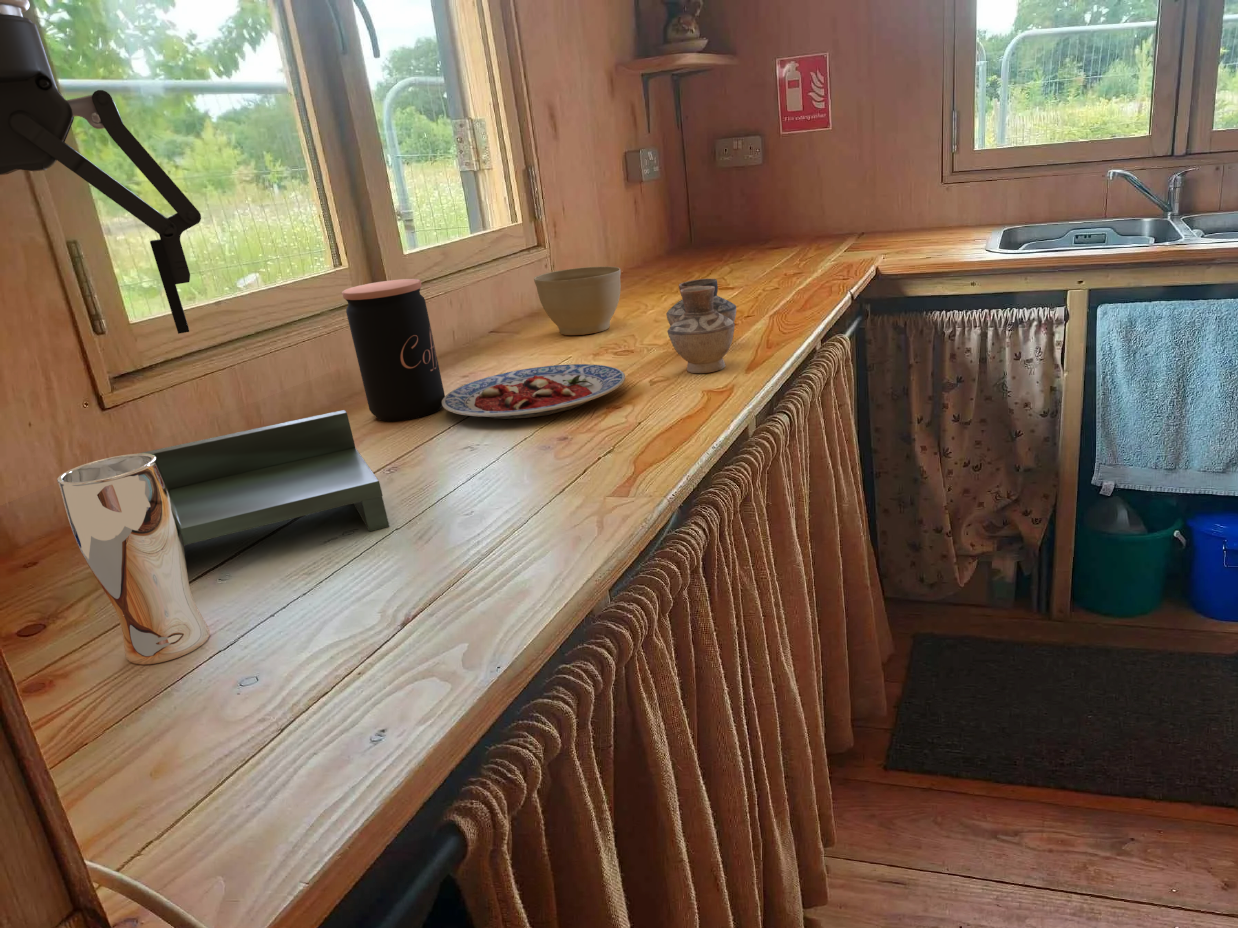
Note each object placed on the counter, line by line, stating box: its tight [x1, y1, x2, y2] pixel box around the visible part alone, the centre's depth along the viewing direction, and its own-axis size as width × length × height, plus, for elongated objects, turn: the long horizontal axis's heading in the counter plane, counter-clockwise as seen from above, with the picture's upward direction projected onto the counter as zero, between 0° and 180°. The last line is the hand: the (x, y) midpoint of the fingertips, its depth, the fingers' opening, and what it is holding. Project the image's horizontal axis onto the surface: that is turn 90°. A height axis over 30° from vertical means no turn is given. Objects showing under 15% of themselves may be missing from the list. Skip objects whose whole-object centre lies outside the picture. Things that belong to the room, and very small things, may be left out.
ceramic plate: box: [442, 363, 626, 420], centre depth 137 cm, size 26×26×3 cm
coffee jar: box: [341, 278, 446, 422], centre depth 137 cm, size 11×11×18 cm
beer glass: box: [56, 452, 211, 665], centre depth 74 cm, size 7×7×15 cm
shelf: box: [137, 409, 390, 546], centre depth 97 cm, size 16×22×9 cm
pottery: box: [666, 278, 737, 374], centre depth 149 cm, size 11×25×12 cm, turn 0°
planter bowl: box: [533, 265, 622, 336], centre depth 182 cm, size 16×16×11 cm
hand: (80, 349), depth 69 cm, fingers open, 13 cm apart
